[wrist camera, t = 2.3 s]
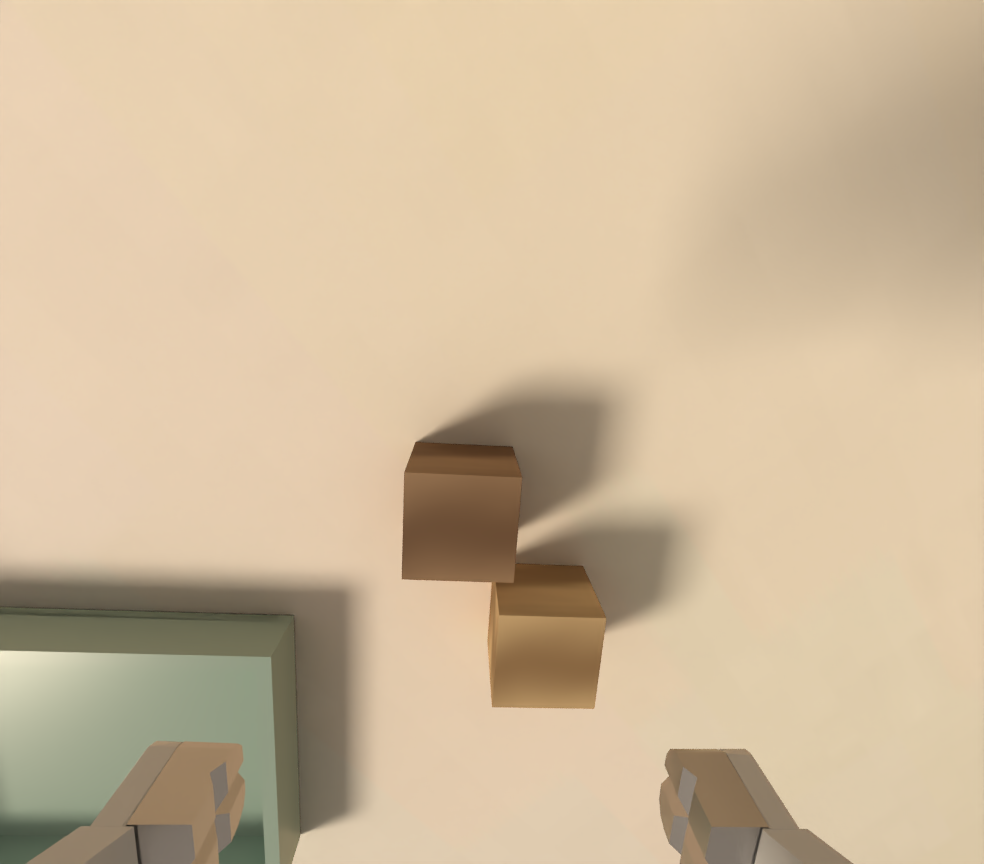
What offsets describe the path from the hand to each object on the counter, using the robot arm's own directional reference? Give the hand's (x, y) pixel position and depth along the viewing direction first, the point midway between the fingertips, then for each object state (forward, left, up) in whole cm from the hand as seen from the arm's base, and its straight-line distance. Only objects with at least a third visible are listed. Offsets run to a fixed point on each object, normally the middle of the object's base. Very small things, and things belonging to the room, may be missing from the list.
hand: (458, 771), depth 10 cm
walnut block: (0, 0, -15) cm, 15 cm away
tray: (+14, -17, -15) cm, 27 cm away
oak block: (+6, +4, -15) cm, 17 cm away
